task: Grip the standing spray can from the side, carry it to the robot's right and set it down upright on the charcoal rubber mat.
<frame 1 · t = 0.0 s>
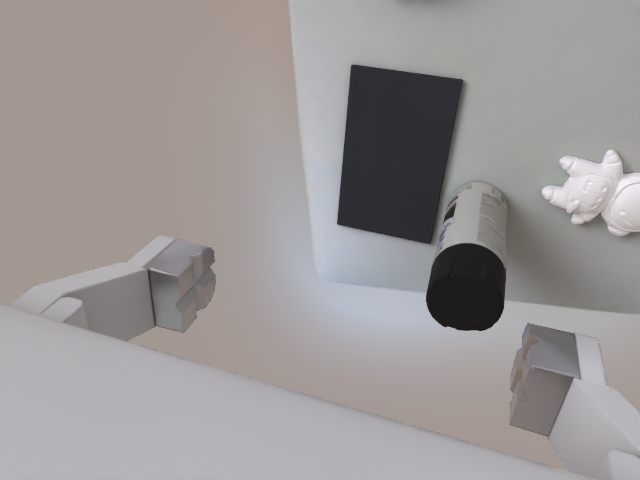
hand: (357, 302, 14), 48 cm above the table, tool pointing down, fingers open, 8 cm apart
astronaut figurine: (604, 189, 57), on the table
mat: (394, 158, 63), on the table
spray can: (478, 205, 62), on the table
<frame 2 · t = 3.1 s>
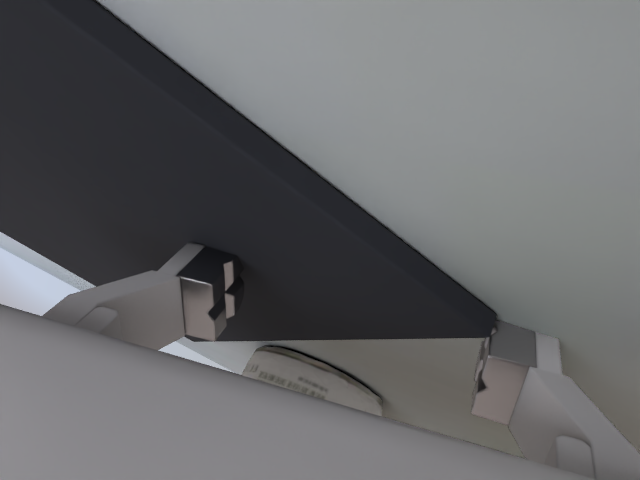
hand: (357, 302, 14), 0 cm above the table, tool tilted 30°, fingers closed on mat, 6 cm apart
mat: (146, 239, 18), on the table
spray can: (323, 372, 25), on the table
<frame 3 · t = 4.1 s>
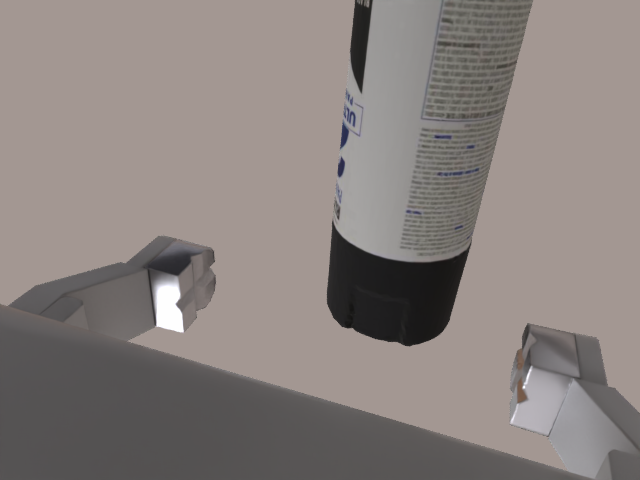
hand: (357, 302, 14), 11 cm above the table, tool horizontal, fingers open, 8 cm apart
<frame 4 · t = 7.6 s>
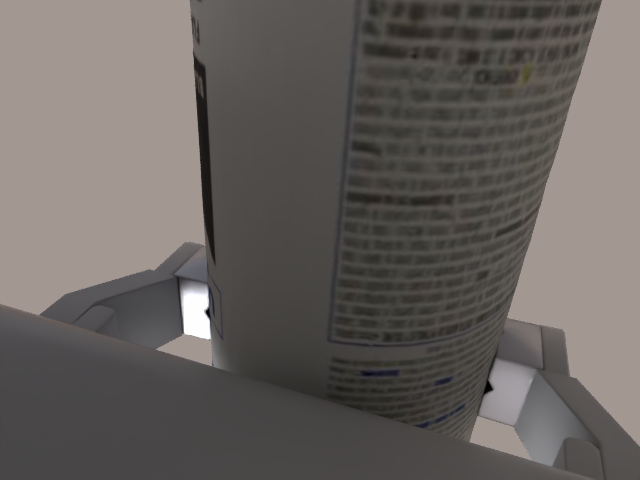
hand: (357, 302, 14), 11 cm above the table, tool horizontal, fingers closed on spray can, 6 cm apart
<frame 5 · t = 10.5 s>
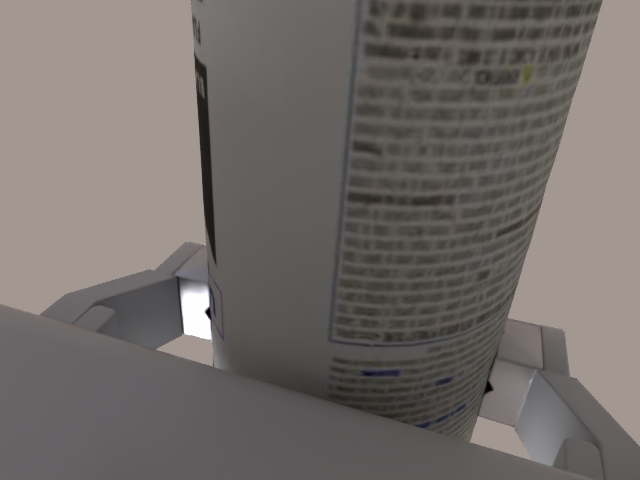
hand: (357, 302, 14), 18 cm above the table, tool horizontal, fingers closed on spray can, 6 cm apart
when the fingers open (12 cm above the table, at t = 13.5 s): spray can stays where it is, resting on mat.
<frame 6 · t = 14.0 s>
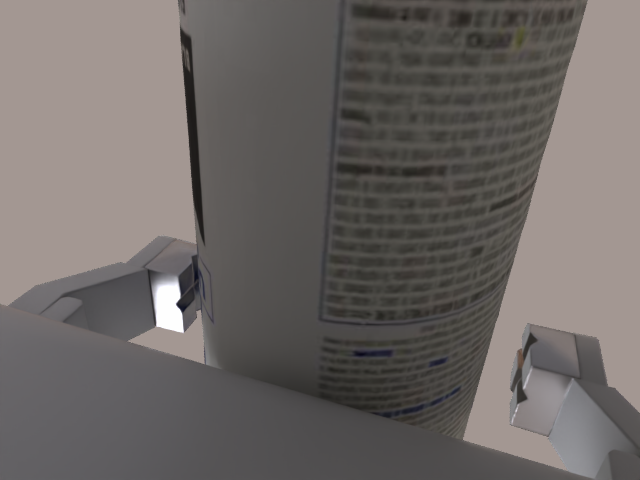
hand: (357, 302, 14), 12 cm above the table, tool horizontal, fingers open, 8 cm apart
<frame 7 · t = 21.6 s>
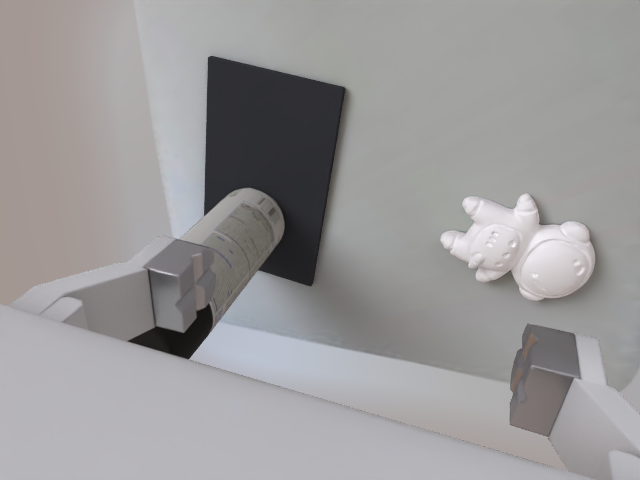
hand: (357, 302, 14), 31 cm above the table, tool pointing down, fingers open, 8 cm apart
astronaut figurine: (517, 241, 45), on the table
mat: (266, 179, 49), on the table
spray can: (256, 216, 51), resting on mat
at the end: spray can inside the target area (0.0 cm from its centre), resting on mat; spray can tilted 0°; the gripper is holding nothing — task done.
